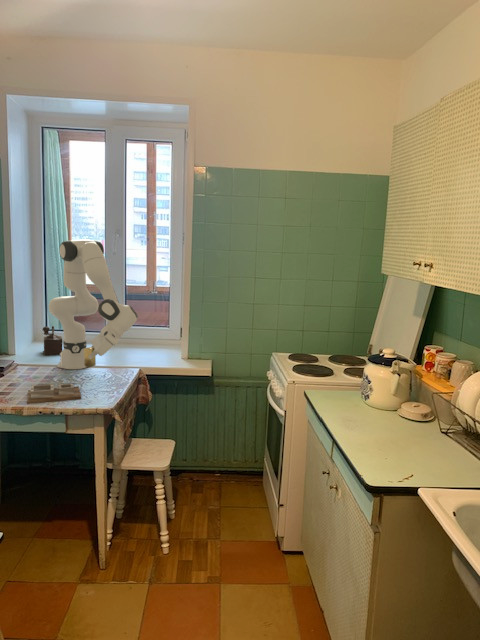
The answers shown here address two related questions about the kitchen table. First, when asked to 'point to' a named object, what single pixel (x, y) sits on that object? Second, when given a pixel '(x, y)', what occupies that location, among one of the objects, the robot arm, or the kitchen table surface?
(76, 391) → the socket board
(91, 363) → the gold metal cylinder
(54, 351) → the manual coffee grinder
